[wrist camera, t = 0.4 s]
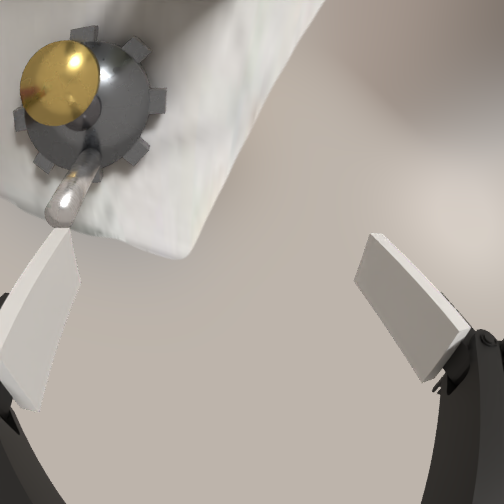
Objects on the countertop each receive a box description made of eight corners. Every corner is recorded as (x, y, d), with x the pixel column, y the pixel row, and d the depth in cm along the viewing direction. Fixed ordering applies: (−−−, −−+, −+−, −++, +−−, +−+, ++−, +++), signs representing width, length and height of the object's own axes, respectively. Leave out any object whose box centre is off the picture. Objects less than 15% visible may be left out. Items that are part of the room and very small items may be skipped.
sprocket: (90, -4, 18) (36, -19, 8) (201, 98, 31) (211, 135, 21) (-2, 123, 24) (-64, 173, 14) (97, 202, 36) (73, 275, 26)
